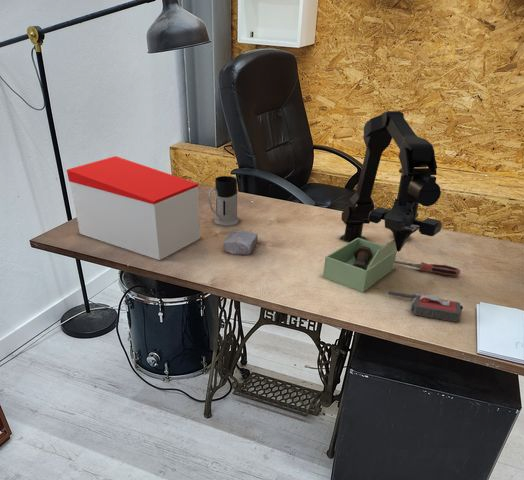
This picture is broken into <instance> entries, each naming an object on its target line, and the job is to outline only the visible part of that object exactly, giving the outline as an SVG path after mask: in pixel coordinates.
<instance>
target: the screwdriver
mask: <svg viewBox="0 0 524 480" xmlns="http://www.w3.org/2000/svg"><path fill="white" fill-rule="evenodd" d="M394 264H397V265H403V266H409V267H413V268H416V269H417V268H418V269H419V271H421V272H423V271H424V272H425V271H426V272H430V273H434V274H438V275H442V276H450V277H451V276H452V277H453V276H454V277H456V276H459V275H460V274H461V270H460V269H459V268H457V267H454V266H450V265H447V264H436V263H426V262H423V261H422V262H420V263H412V262H405V261H398V260H395V262H394Z"/></svg>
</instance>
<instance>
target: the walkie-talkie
mask: <svg viewBox="0 0 524 480" xmlns="http://www.w3.org/2000/svg"><path fill="white" fill-rule="evenodd" d="M386 293H387V295H389V296H394V297H399V298H405V299H410V300H412V302H411V308H410V310H411V311H413V315H415V316H421V317H424V318H431V319H436V320H442V321H447V322H453V323H455V322H456V323H457V322H459V319H460V317H461V312H462V311H463V308H464V306H463V305H461V302H458V301H453V300H451V299H442V298H440V296H437V295H432V294H426V293H420V292H417V293H416V294H411V293H410V294H409V293H403V292H397V291H391V290H388V291H387V292H386Z"/></svg>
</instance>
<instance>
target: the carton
mask: <svg viewBox="0 0 524 480" xmlns="http://www.w3.org/2000/svg"><path fill="white" fill-rule="evenodd" d="M360 246H365V247H369V248H370V249H371V252H372V255H373V257H374V256H375V254H376V252H377V251H378V250H379V249H380V248H382V247H383V246H384V245H382V244H379V243H376V242H373V241H369V240H366V239H360V238H357V239H355V240H353V241H351V242H348V243H346V244H345V245H343V246H341V247H340V248H337V249H336V250H334V251H333V252H331V253H330V254H328V255H326V256H325V257H324V265H323V273H322V277H323V278H325V279H327V280H330V281H333V282H336V283H338V284H341V285H343V286H345V287H349V288H351V289H354V290H357V291H359V292H362V293H364V292H365V291H366V290H368V289H369V288H370V287H372V286H373V285H375V284H376V283H377V282H378V281H380V280H381V279H382V278H384V277H385V276H386V275H388V274H389V273H390V272H392V271H393V270H394V266H395V263H394V262H395V261H396V257H397V252H398V251H397V250H395V251H394V252H392V253H391V254H390V255H388V256H387V257H385V258H384V259H382V260H381V261H379V262H378V263H377V264H375V265H374V266H372V267H371V268H369V269H367V270H364V269H361V268H358V267H355V266H352V265H353V264H354V263H355V262H356V259H355V256H354V253H355V251H356V250H357V249H358V248H359V247H360ZM373 257H372V259H373ZM372 259H371V260H370V261H369V262H368V263H367V264H366V266H367V268H368V266H369V264H370V263H371V261H372Z"/></svg>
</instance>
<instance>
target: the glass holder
mask: <svg viewBox="0 0 524 480" xmlns="http://www.w3.org/2000/svg"><path fill="white" fill-rule="evenodd" d="M214 180H215V183H214V184H215V185H214V187H212V188H210V189H209V192H208V204H209V208H210V210H211V211H212V213H213V214H215V218H214V223H215V224H217V225H219V226H223V227H225V226H235V225H237V224H238V223H239V219H238V179H237V178H236V177H234V176H230V175H222V176H217V177H215V179H214ZM213 191H214V192H215V193H214V202H215V203H214V207H215V210H214V208H213V206H212V205H213V204H212V200H211V197H212V196H211V195H212V192H213Z"/></svg>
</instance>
